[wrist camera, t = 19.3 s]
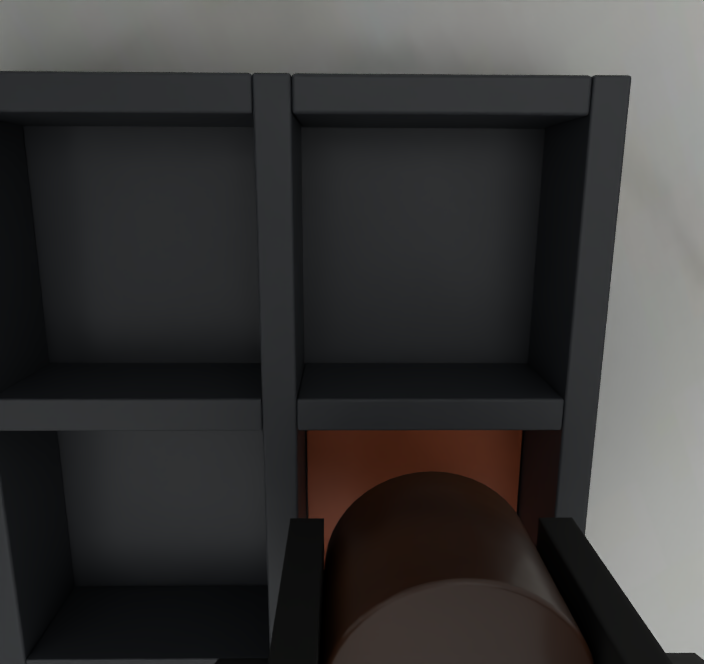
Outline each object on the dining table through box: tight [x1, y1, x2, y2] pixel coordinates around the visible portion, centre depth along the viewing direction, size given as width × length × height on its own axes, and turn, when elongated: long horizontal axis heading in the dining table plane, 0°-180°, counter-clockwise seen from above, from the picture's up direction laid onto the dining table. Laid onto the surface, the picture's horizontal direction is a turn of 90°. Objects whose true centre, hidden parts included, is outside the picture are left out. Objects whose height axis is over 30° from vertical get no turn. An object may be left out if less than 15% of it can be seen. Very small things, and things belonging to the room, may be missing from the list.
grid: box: [0, 71, 631, 664], centre depth 16 cm, size 15×15×4 cm
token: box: [320, 471, 594, 664], centre depth 12 cm, size 5×5×4 cm
